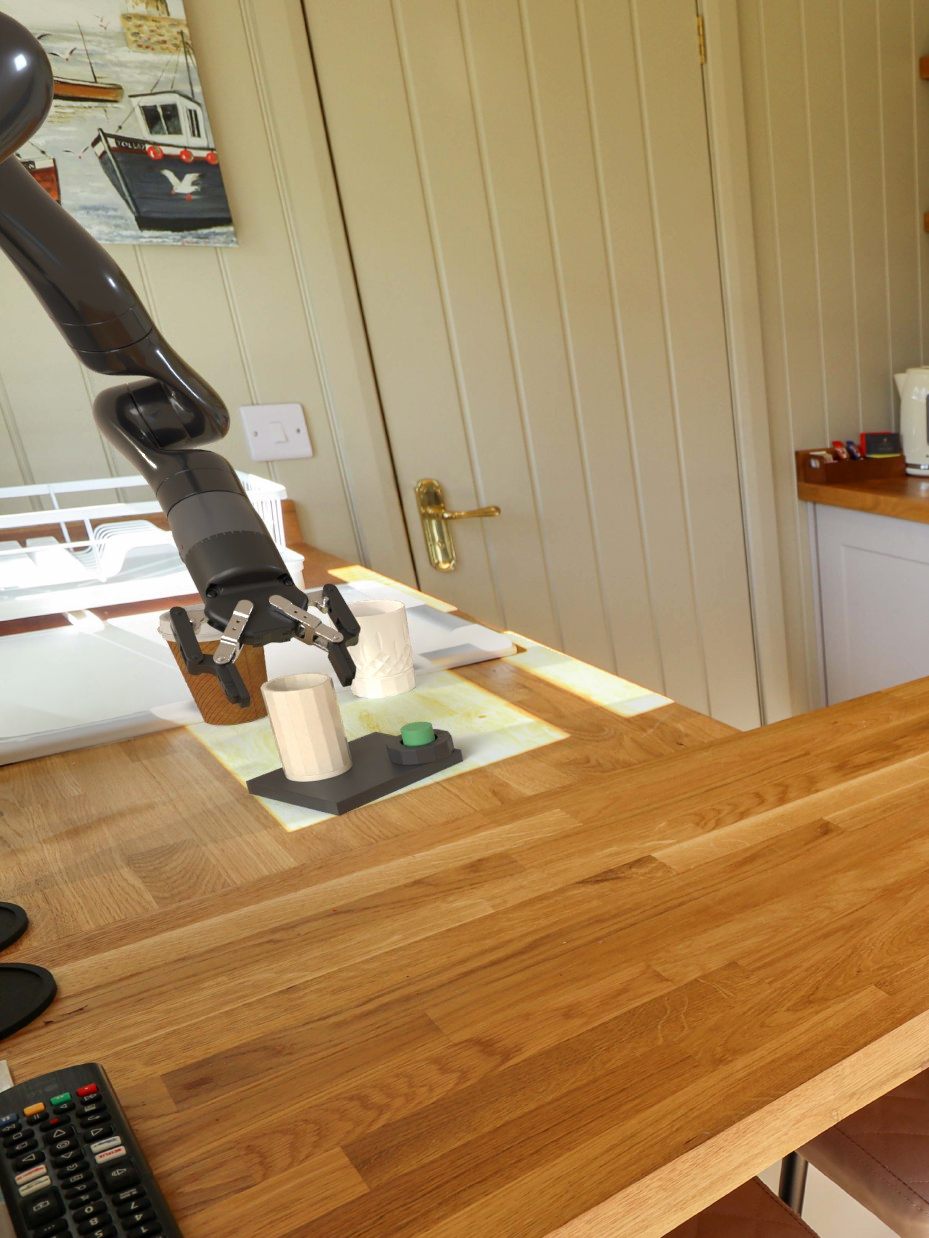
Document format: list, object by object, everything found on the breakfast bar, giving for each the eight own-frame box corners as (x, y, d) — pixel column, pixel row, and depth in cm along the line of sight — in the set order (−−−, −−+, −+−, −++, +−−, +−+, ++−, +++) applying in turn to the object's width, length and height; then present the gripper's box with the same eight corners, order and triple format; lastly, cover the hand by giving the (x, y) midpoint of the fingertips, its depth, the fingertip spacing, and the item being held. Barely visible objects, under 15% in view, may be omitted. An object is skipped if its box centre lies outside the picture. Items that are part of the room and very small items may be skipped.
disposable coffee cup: (180, 713, 122) (147, 609, 118) (278, 695, 128) (251, 595, 123) (193, 738, 116) (160, 629, 111) (296, 717, 122) (269, 613, 117)
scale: (342, 817, 99) (334, 787, 98) (249, 794, 103) (240, 765, 102) (469, 761, 112) (463, 733, 110) (381, 742, 116) (375, 716, 114)
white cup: (401, 701, 127) (382, 618, 123) (333, 700, 127) (312, 617, 123) (433, 679, 134) (417, 600, 130) (369, 678, 134) (351, 599, 130)
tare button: (418, 749, 107) (414, 733, 107) (397, 745, 108) (393, 728, 108) (441, 739, 110) (438, 723, 109) (421, 735, 111) (417, 719, 110)
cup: (313, 785, 102) (289, 695, 99) (271, 776, 104) (246, 687, 100) (366, 764, 107) (345, 677, 103) (325, 755, 109) (303, 669, 105)
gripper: (137, 539, 97) (209, 690, 95) (315, 518, 107) (385, 655, 104) (140, 587, 102) (209, 731, 100) (309, 563, 112) (376, 694, 110)
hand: (299, 692), depth 102 cm, fingers open, 8 cm apart
